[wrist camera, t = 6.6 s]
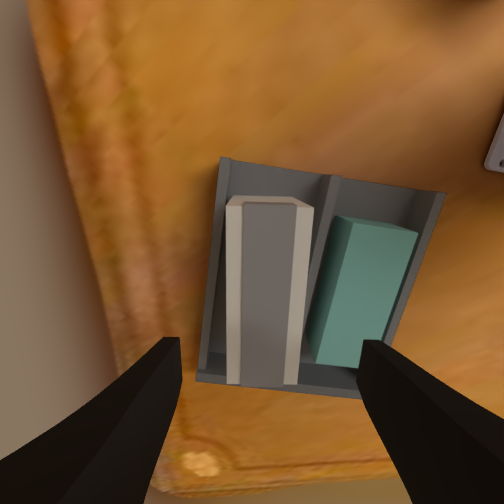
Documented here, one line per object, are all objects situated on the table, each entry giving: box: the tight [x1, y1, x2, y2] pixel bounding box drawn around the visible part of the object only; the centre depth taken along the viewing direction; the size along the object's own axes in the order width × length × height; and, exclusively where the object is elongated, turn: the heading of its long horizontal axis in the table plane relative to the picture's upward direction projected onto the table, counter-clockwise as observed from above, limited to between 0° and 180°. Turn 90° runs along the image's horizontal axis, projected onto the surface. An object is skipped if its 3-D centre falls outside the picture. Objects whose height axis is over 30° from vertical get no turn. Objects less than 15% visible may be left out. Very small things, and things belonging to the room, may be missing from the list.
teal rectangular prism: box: [306, 215, 418, 368], centre depth 18 cm, size 4×10×3 cm, turn 171°
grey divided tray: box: [195, 157, 447, 399], centre depth 18 cm, size 14×16×3 cm
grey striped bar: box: [226, 195, 314, 387], centre depth 16 cm, size 4×10×6 cm, turn 179°
